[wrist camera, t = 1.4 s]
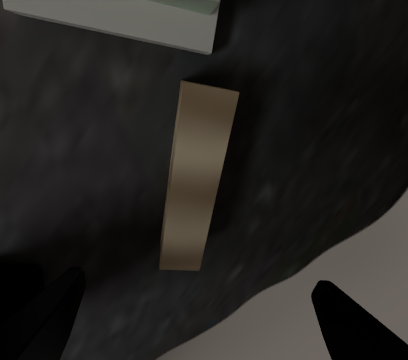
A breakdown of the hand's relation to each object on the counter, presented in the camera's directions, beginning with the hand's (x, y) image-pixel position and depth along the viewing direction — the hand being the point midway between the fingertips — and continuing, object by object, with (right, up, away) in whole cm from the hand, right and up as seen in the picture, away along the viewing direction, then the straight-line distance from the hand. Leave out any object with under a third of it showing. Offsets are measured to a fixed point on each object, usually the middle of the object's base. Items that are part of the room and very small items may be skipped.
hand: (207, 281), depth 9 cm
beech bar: (-2, +4, +12) cm, 13 cm away
